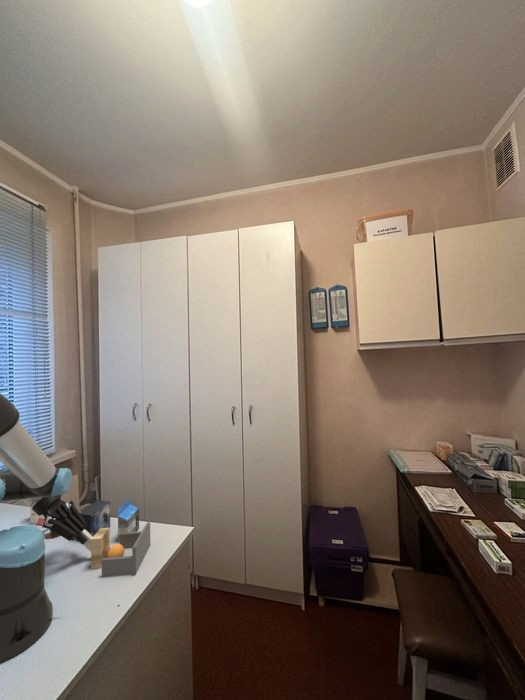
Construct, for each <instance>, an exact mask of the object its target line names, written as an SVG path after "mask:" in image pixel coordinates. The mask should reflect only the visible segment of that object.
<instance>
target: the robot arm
mask: <svg viewBox="0 0 525 700" xmlns="http://www.w3.org/2000/svg"><path fill="white" fill-rule="evenodd" d="M20 415H21V414H20V412H19V411H18V409H17V407H15V405H14V404H13V402H11V400H9V399H8V398H7V397H6V396H5V395H3V394H2V393H0V462H1V463H2V464H3V466H2V467H1V468H0V503H2V502H10V501H20V500H21V501H23V502H24V504H26V506H28V507H30V508H31V506H33V507H32V510H33V511H34V512H35V513H36V514H37V515H38V516H40V515H42V514H43V516H44V518H45V519H46V523H45V524H44V525H42V526H43V527H44V529H48V530H50V529H51V530H52V531H54V532H55V533H57V534H59V535H60V536H59V537H62V538H64V539H65V540H67V541H68V542H71V541H73V542H74V540H76V539H77V540H78V541H77V542H79V543H80V544H81V545H83V547H85V548H86V549H87V550H89V552H91V539H92V538H93V536H92V535H91V534H90V533H89V532H88V531H87V530H86V529H85V528H86V527H87V523H86V521H85V520H84V518H83V517H82V516H81V514H80V513H79V512H80V511H79V510H78V508H77V507H76V506H75V504H74V501H73V500H70V502H66V501H64V500H62V499H61V498H62V495H65V494H66V493H67V492H68V491H69V490H70V488H71V485H72V481H73V473H72V470H71V469H70V468H67V467H65V468H63V467H60V468H57V467H56V466H55V464H54V463H53V462H52V461H51V460H50V459H49V457H48V456H47V455H46V453H45V451H43V450H42V448H41V447H40V446H39V444H38V443H37V442H36V440H34V438H33V437H32V436H31V434H30V433H29V432H28V430H27V429H26V428H25V426H24V425H23V424H22V423H21V422H20V418H21V416H20ZM66 514H67V515H66ZM45 552H46V544H45V535H44V532H43V531H42V530H41V529H40V528H39V527H37V526H34V525H17V526H13V527H9V529H2V530H0V663H3V662H5V661H8V660H10V659H12V658H14V657H17V655H19V654H21V653H22V652H24V651H26V650H27V649H28V648H30V647H31V646H32V645H34V644H35V643H36V642H38V640H39V639H40V638H41V637H42V636H43V635H44V634H45V633H46V631H48V628H49V627H50V626H51V624H52V621H53V616H54V613H53V611H54V609H53V608H54V607H53V603H52V602H51V600H50V598H49V595H48V593H47V591H46V589H45Z"/></svg>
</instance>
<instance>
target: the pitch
mask: <svg viewBox="0 0 525 700" xmlns="http://www.w3.org/2000/svg"><path fill="white" fill-rule="evenodd" d="M119 544H121V545H122V546H123V547H124V550H125V549H132V550H131V551H132V552H131V553H132V555H128V556H127V555H125V556H124V555H123V557H111V558H103V559H102V567H101V578H104V577H105V578H106V577H117V576H127V575H131V576H132V577H136V576H137V573H138V572H139V569H140V567H141V565H142V563H143V561H144V559H145V557H146V555H147V553H148V551H149V549H150V547H151V521H147V522H146V524H145V525H144V527H143V529H142V530H140V531H139V530H138V531H137V532H126V533H121V534H120V542H119Z"/></svg>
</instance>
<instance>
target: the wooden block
mask: <svg viewBox="0 0 525 700" xmlns="http://www.w3.org/2000/svg"><path fill="white" fill-rule="evenodd" d="M110 528H111V527H110ZM110 528H100V529H99V531H98V532H97V533H96V534H95V535H94V536H93V538H92V539H91V551H90V568H91V569H102V559H103V558H107V553H108V551H109V549H110V548H111V546H110V543H111V542H110V541H111V538H110V535H111V533H110V532H111V531H110V530H111V529H110Z"/></svg>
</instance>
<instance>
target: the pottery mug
mask: <svg viewBox="0 0 525 700" xmlns="http://www.w3.org/2000/svg"><path fill="white" fill-rule="evenodd" d="M66 515H67V514H66ZM45 523H46V519H45ZM45 523H44V524H45ZM44 524H43V525H44ZM43 525H41V528H42V529H43V528H44V527H43ZM44 529H45V528H44ZM59 537H61V536H60V535H59V534H57V533H55V532H54V531H52V530H51V529H49V533H46V534H45V535H44V538H45V540H51V539H56V538H59Z"/></svg>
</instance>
